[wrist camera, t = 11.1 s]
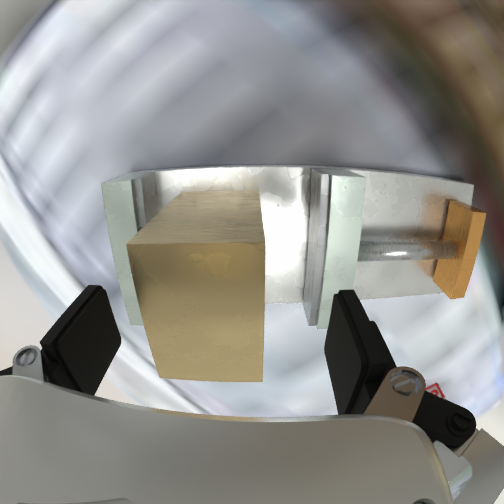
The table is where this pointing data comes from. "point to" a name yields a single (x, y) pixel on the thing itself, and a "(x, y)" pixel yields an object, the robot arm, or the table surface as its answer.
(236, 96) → the table surface
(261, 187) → the vise
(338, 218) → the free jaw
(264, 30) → the table surface
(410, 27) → the table surface
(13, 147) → the table surface
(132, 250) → the brass block
